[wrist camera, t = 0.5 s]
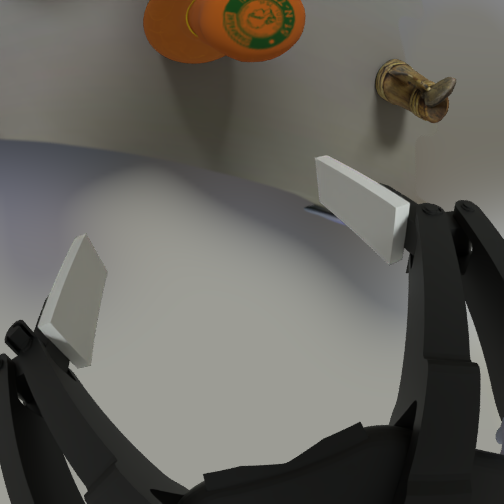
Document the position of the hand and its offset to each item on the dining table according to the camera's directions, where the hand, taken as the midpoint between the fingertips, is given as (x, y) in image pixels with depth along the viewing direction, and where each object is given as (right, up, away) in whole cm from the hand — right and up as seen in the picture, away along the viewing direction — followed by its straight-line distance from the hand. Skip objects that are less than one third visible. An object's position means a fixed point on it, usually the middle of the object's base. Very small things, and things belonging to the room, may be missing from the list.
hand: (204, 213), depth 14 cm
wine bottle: (-5, +27, +10) cm, 29 cm away
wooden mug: (+26, +29, +21) cm, 44 cm away
